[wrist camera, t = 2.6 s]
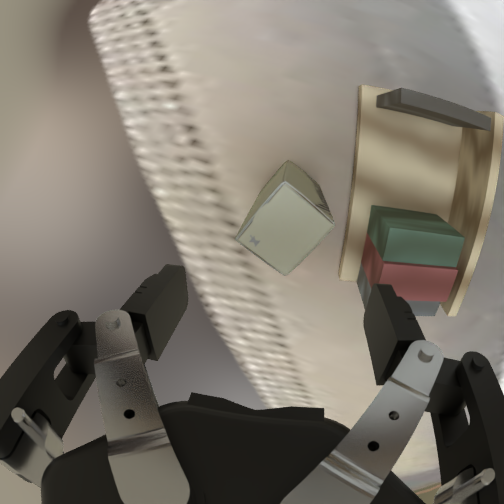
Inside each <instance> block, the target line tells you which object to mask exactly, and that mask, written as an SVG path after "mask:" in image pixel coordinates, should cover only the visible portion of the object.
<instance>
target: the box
mask: <svg viewBox="0 0 504 504" xmlns="http://www.w3.org/2000/svg"><path fill="white" fill-rule="evenodd" d="M334 226H335V223H334V220H333V217H332V215H331V212H330V210H329V208H328V205H327V203H326V201H325V198H324V196H323V194H322V191H321V189H320V187H319V185H318V184H317V183H316V182H315V181H314V180H313V179H312V178H311V177H309V176H308V175H307V174H306V173H305V172H304V171H302V170H301V169H300V168H299V167H297V166H296V165H295V164H293V163H292V162H291V161H286V162H285V163H284V164H283V166H282V167H281V168H280V169H279V170H278V171H277V172H276V174H275V175H274V176H273V177H272V178H271V180H270V181H269V182H268V183H267V185H266V186H265V187H264V188H263V190H262V191H261V192H260V193H259V195H258V197H257V199H256V201H255V203H254V205H253V206H252V208H251V210H250V212H249V214H248V215H247V217H246V219H245V221H244V223H243V224H242V226H241V228H240V230H239V232H238V234H237V236H236V238H235V239H236V241H237V242H238V243H240V244H241V245H242V246H244V247H245V248H246V249H248V250H249V251H250V252H252V253H253V254H254V255H256V256H257V257H258V258H260V259H261V260H262V261H264V262H265V263H267V264H268V265H269V266H271V267H272V268H274V269H275V270H276V271H278V272H279V273H281V274H282V275H284V276H286V275H288V274H289V273H290V272H291V271H292V270H293V269H295V268H296V267H297V266H298V265H299V264H300V263H301V262H302V261H303V260H304V259H305V258H306V257H307V256H308V255H309V254H310V253H311V252H312V251H313V250H314V248H315V247H316V246H317V245H318V244H319V243H320V242H321V241H322V240H323V239H324V238H325V237H326V236H327V234H328V233H329V232H330V231H331V230H332V229H333V227H334Z"/></svg>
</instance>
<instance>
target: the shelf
mask: <svg viewBox="0 0 504 504" xmlns="http://www.w3.org/2000/svg"><path fill="white" fill-rule="evenodd" d="M503 119H504V116H502V115H500V114H498V113H496V112H486V111H474V110H471V109H468V108H466V107H463V106H460V105H458V104H455V103H452V102H449V101H446V100H443V99H440V98H436V97H433V96H430V95H426V94H423V93H419V92H416V91H412V90H408V89H404V88H399V89H396V90H389V89H384V88H379V87H374V86H368V85H363V84H362V85H360V86H359V96H358V119H357V135H356V148H355V160H354V170H353V180H352V188H351V197H350V205H349V212H348V219H347V226H346V233H345V239H344V245H343V251H342V257H341V263H340V268H339V273H338V274H339V279H340V280H341V281H354V282H357V284H358V287H359V291H360V294H361V297H362V301H363V304H364V308H365V310H366V307H367V303H368V300H369V296H370V293H371V289H372V286H373V284H374V283H378V284H391V285H392V287H393V289H394V291H395V293H396V295H397V296H401V297H402V298H403V299H404V300H405V301H406V302H407V303H409V305H410V307H411V309H412V311H413V313H414V315H415V316H435V314H436V312H437V309H438V307H439V304H441V306H442V308H443V309H444V311H445V313H446V314H447V316H456V315H457V312H458V310H459V308H460V305H461V303H462V301H463V298H464V296H465V293H466V291H467V288H468V286H469V283H470V281H471V278H472V275H473V272H474V270H475V267H476V264H477V261H478V258H479V255H480V251H481V248H482V245H483V241H484V238H485V234H486V231H487V227H488V223H489V219H490V215H491V210H492V206H493V201H494V196H495V191H496V186H497V180H498V173H499V166H500V158H501V149H502V137H503Z"/></svg>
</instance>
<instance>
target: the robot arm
mask: <svg viewBox="0 0 504 504" xmlns="http://www.w3.org/2000/svg"><path fill="white" fill-rule="evenodd" d="M187 305H188V291H187V282H186V272H185V268H184V266H180V265H170V264H167V265H165V266H164V268H163V269H162V270H161V271H160V272H159V273H158V274H154V275H152V276H150V277H149V278H147V279H146V280H144V282H143V283H142V284H141V285H140V287H138V289H137V290H136V291H135V293H133V294H132V296H131V297H130V298H129V299H128V300H127V301H126V303H125V304H124V305H123V306H122V307H121V309H120V310H111V311H107V312H105V313H103V314H101V315H100V316H99V317H98V318H97V320H96V322H80V320H79V317H78V315H77V313H76V312H74V311H71V310H66V311H61V312H58V313H56V314H55V315H54V316H52V317H51V318H50V319H49V320H48V322H47V323H46V324H45V325H44V326H43V327H42V328H41V329H40V331H39V332H38V333H37V334H36V335H35V336H34V338H33V339H32V340H31V341H30V342H29V343H28V345H27V346H26V347H25V348H24V350H23V351H22V352H21V353H20V354H19V356H18V357H17V358H16V359H15V361H14V362H13V363H12V364H11V366H10V367H9V368H8V369H7V371H6V372H5V374H4V375H3V376H2V377H1V379H0V463H1V464H2V465H3V466H5V467H6V468H7V469H8V470H10V471H11V472H13V473H15V474H17V475H18V476H19V477H21V478H22V479H24V480H25V481H27V482H30V483H34V484H35V485H37V486H38V487H40V488H41V498H42V504H425V503H424V502H423V501H422V500H421V499H420V498H419V497H418V496H417V495H416V494H415V493H414V492H413V491H412V490H411V489H410V488H409V487H407V486H406V485H405V484H404V483H403V482H402V481H401V480H400V479H399V478H398V477H397V476H396V475H395V474H394V473H393V472H392V471H391V469H392V468H393V466H394V465H395V463H396V462H397V460H398V458H399V457H400V455H401V454H402V452H403V450H404V448H405V447H406V445H407V443H408V442H409V440H410V438H411V436H412V434H413V433H414V431H415V429H416V427H417V425H418V423H419V421H420V419H421V417H422V415H423V413H424V411H426V412H430V413H431V418H432V423H433V428H434V433H435V439H436V445H437V452H438V458H439V466H440V475H441V485H442V487H441V488H440V489H439V490H438V491H437V493H436V495H435V499H434V503H433V504H504V395H503V392H502V390H501V387H500V385H499V383H498V380H497V378H496V376H495V373H494V371H493V369H492V367H491V365H490V363H489V361H488V360H487V358H486V357H484V356H483V355H482V354H480V353H478V352H473V351H471V352H467V353H465V354H464V356H463V357H462V359H461V361H457V360H453V359H448V358H444V357H443V353H442V351H441V349H440V348H439V347H438V346H437V345H435V344H434V343H432V342H429V341H426V339H425V337H424V335H423V333H422V330H421V328H420V326H419V324H418V322H417V320H416V318H415V315H414V313H413V311H412V309H411V307H410V305H409V303H407V302H406V301H405V300H404V299H403V298H402V297H401V296H397V295H396V293H395V291H394V289H393V287H392V285H391V284H378V283H374V284H373V286H372V289H371V293H370V296H369V300H368V303H367V307H366V310H365V314H364V330H365V334H366V338H367V343H368V347H369V351H370V356H371V360H372V365H373V370H374V375H375V380H376V385H384V386H383V387H382V389H381V390H380V392H379V393H378V395H377V396H376V397H375V399H374V400H373V402H372V403H371V404H370V406H369V407H368V408H367V410H366V411H365V412H364V414H363V415H362V416H361V418H360V419H359V420H358V421H357V423H356V424H355V425H354V427H353V428H352V429H351V430H350V429H349V428H347V427H346V426H344V425H343V424H341V423H338V422H336V421H334V420H331V419H328V418H324V408H307V407H292V406H291V407H283V408H275V409H265V410H253V409H250V408H247V407H244V406H242V405H239V404H236V403H234V402H231V401H229V400H226V399H224V398H219V397H213V396H207V395H202V394H198V393H191V395H190V398H189V400H188V401H180V402H173V403H168V404H165V405H162V406H160V407H159V404H158V402H157V400H156V396H155V394H154V391H153V388H152V385H151V382H150V379H149V376H148V373H147V370H146V367H145V362H146V360H147V359H151V360H155V361H158V359H159V358H160V356H161V354H162V352H163V350H164V348H165V347H166V345H167V343H168V341H169V339H170V337H171V336H172V334H173V332H174V330H175V328H176V327H177V325H178V323H179V321H180V319H181V318H182V316H183V314H184V312H185V311H186V308H187ZM62 358H64V359H65V361H66V364H65V366H64V367H63V369H62V370H61V372H60V373H59V375H58V376H57V378H56V379H55V380H54V370H55V368H56V367H57V365H58V364H59V362H60V361H61V360H62ZM95 378H96V382H97V388H98V395H99V401H100V407H101V413H102V417H103V423H104V427H105V431H106V434H105V435H103V436H102V437H99V438H97V439H96V440H93V441H91V442H89V443H87V444H85V445H83V446H80V447H78V448H76V449H74V450H71V451H69V452H67V453H65V454H64V452H63V440H62V437H63V435H64V433H65V431H66V430H67V428H68V426H69V424H70V422H71V420H72V418H73V416H74V414H75V413H76V411H77V409H78V407H79V405H80V404H81V402H82V400H83V398H84V397H85V395H86V393H87V391H88V390H89V388H90V386H91V385H92V383H93V381H94V379H95ZM466 405H467V409H468V412H469V415H470V424H468V420H467V417H466V413H465V410H464V408H465V407H466Z"/></svg>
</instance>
